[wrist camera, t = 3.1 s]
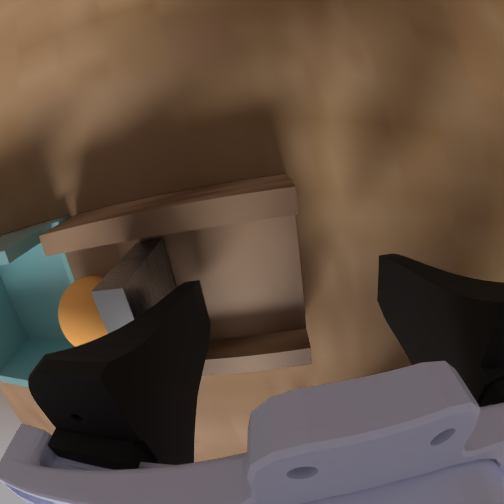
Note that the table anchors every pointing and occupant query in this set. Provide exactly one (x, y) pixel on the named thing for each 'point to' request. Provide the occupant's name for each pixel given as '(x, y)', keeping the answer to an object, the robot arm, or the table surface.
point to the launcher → (212, 262)
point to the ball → (81, 312)
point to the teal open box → (30, 301)
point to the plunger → (134, 284)
